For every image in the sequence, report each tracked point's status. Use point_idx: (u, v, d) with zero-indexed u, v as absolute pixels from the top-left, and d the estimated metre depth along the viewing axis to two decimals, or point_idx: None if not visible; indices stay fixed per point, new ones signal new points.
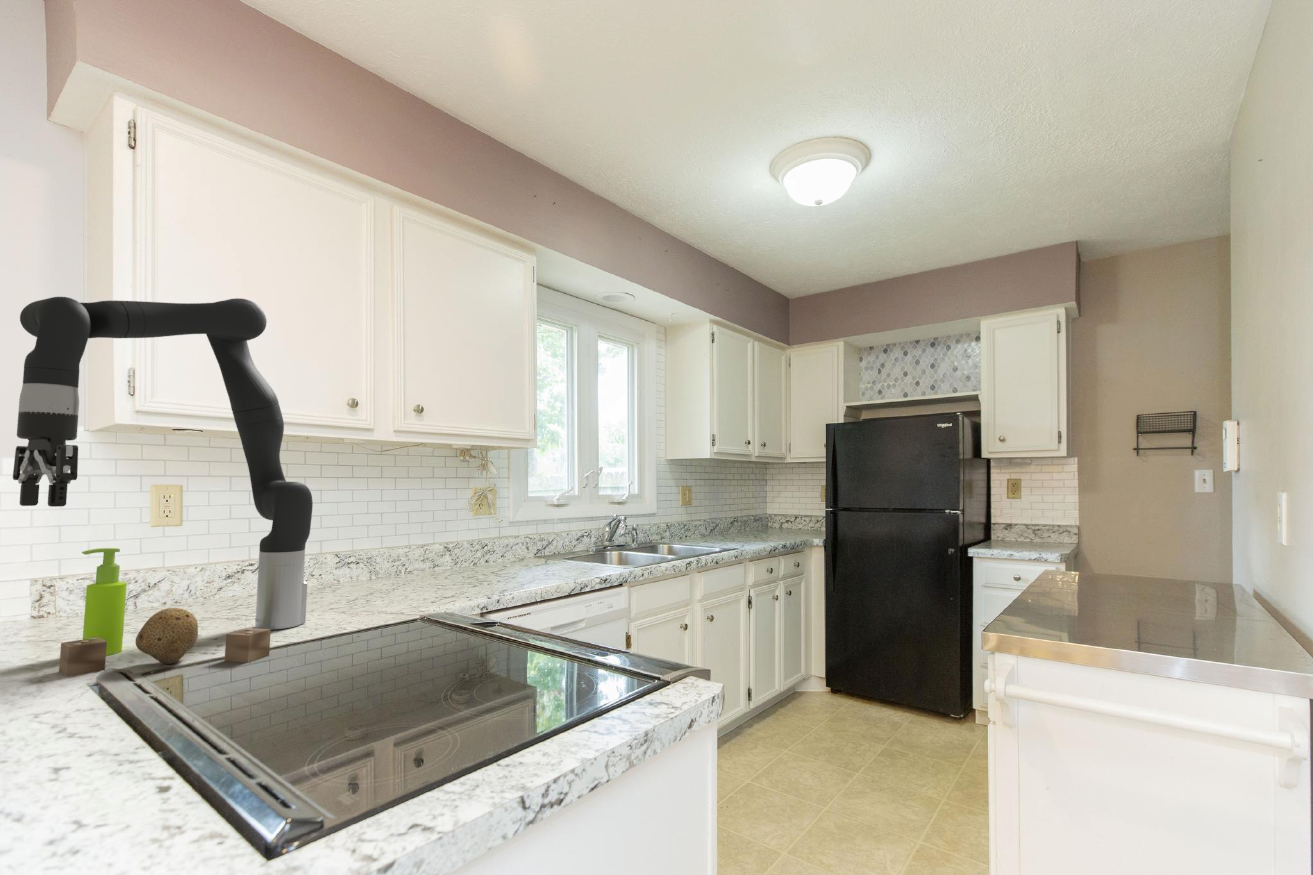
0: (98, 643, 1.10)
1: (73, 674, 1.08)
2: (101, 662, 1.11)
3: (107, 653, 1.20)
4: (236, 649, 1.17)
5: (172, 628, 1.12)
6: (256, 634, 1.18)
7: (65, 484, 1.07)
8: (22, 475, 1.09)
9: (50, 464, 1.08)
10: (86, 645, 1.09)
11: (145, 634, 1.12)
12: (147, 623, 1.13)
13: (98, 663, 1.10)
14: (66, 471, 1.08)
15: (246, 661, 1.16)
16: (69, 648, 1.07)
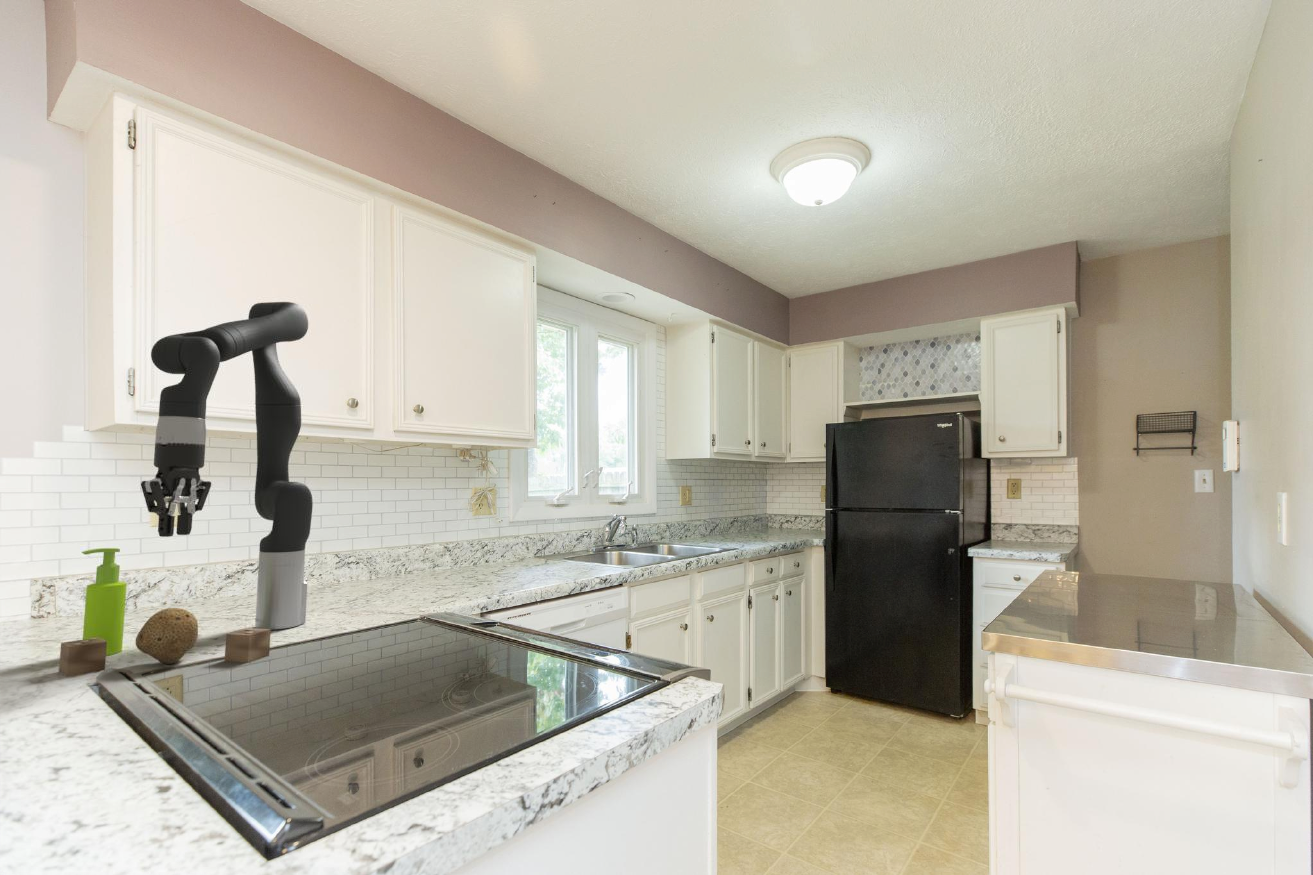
0: (98, 643, 1.10)
1: (73, 674, 1.08)
2: (101, 662, 1.11)
3: (107, 653, 1.20)
4: (236, 649, 1.17)
5: (172, 628, 1.12)
6: (256, 634, 1.18)
7: None
8: (173, 506, 1.15)
9: None
10: (86, 645, 1.09)
11: (145, 634, 1.12)
12: (147, 623, 1.13)
13: (98, 663, 1.10)
14: (183, 502, 1.20)
15: (246, 661, 1.16)
16: (69, 648, 1.07)
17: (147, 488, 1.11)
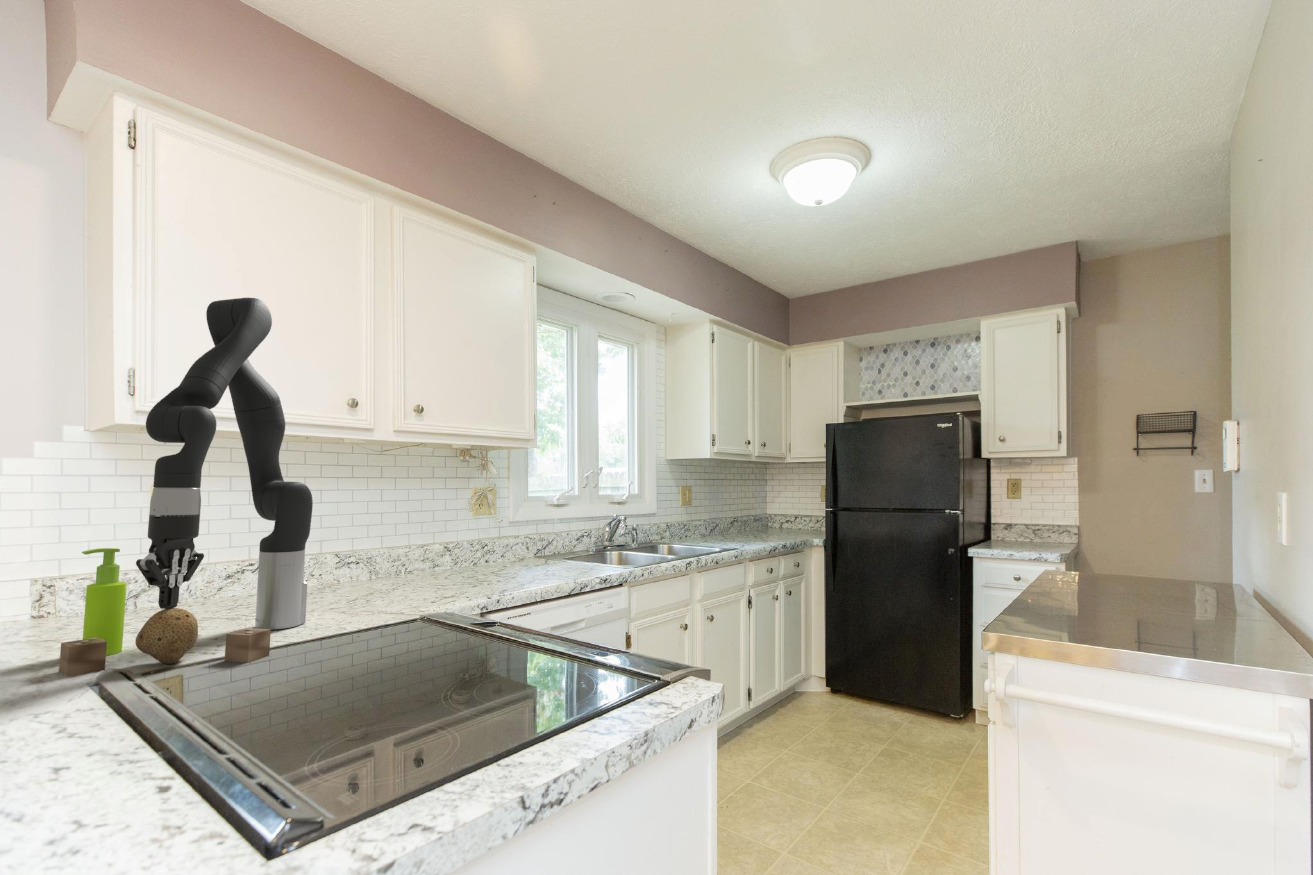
0: (98, 643, 1.10)
1: (73, 674, 1.08)
2: (101, 662, 1.11)
3: (107, 653, 1.20)
4: (236, 649, 1.17)
5: (172, 628, 1.12)
6: (256, 634, 1.18)
7: None
8: (172, 578, 1.15)
9: None
10: (86, 645, 1.09)
11: (145, 634, 1.12)
12: (147, 623, 1.13)
13: (98, 663, 1.10)
14: None
15: (246, 661, 1.16)
16: (69, 648, 1.07)
17: (143, 567, 1.11)
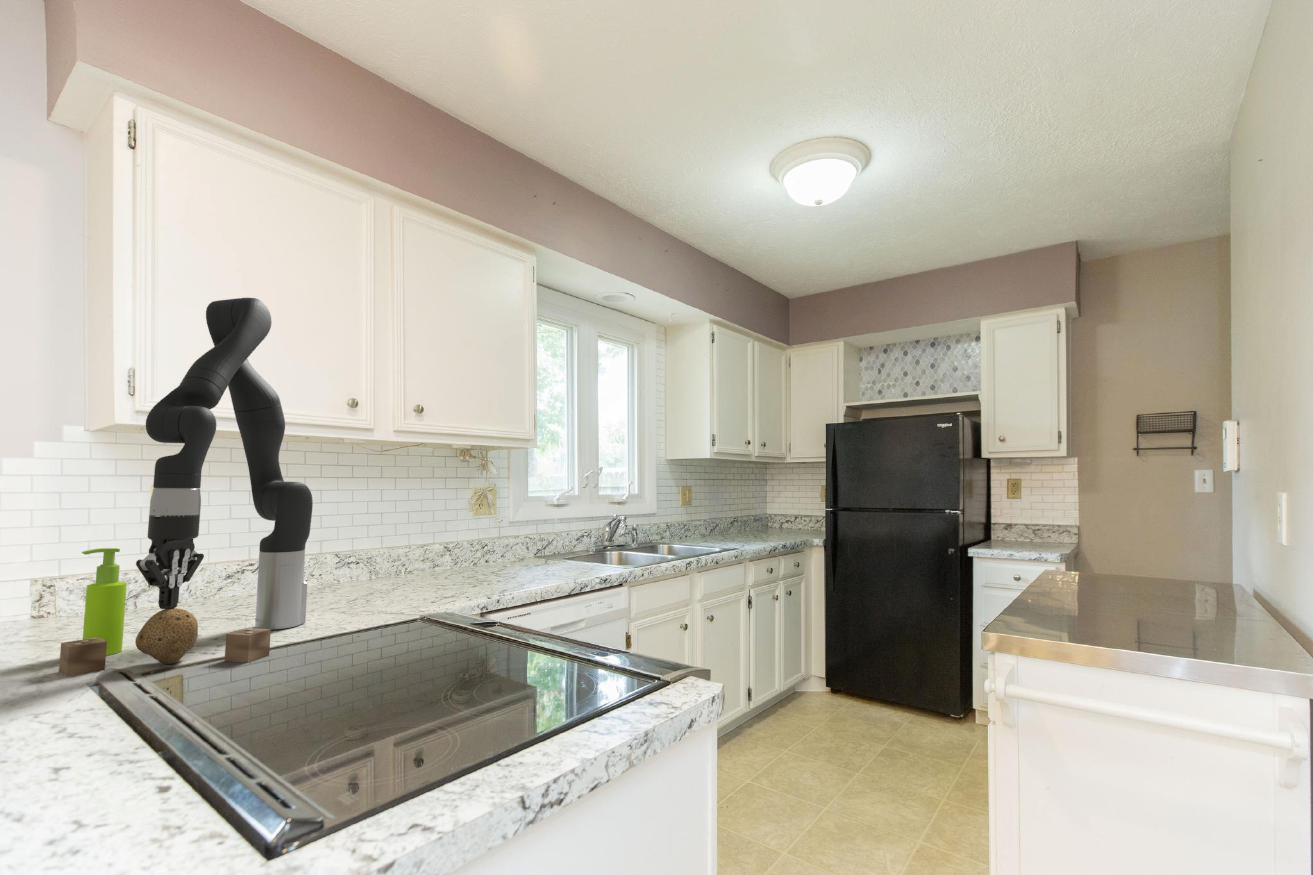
0: (98, 643, 1.10)
1: (73, 674, 1.08)
2: (101, 662, 1.11)
3: (107, 653, 1.20)
4: (236, 649, 1.17)
5: (172, 629, 1.12)
6: (256, 634, 1.18)
7: None
8: (172, 579, 1.15)
9: None
10: (86, 645, 1.09)
11: (145, 634, 1.12)
12: (147, 623, 1.13)
13: (98, 663, 1.10)
14: None
15: (246, 661, 1.16)
16: (69, 648, 1.07)
17: (143, 567, 1.11)
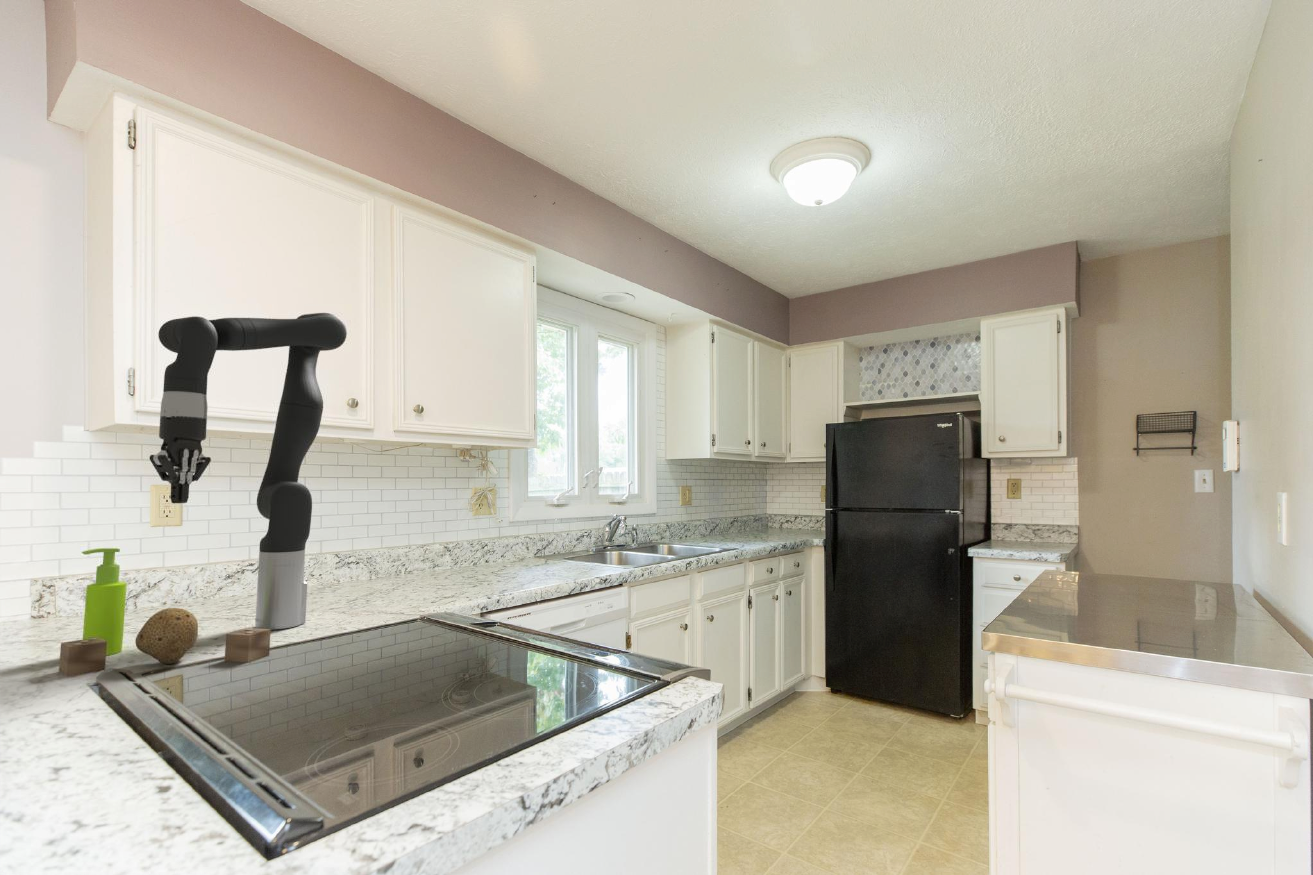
0: (98, 643, 1.10)
1: (73, 674, 1.08)
2: (101, 662, 1.11)
3: (107, 653, 1.20)
4: (236, 649, 1.17)
5: (172, 628, 1.12)
6: (256, 634, 1.18)
7: None
8: (182, 475, 1.25)
9: None
10: (86, 645, 1.09)
11: (145, 634, 1.12)
12: (147, 623, 1.13)
13: (99, 663, 1.10)
14: None
15: (246, 661, 1.16)
16: (69, 648, 1.07)
17: (156, 462, 1.21)
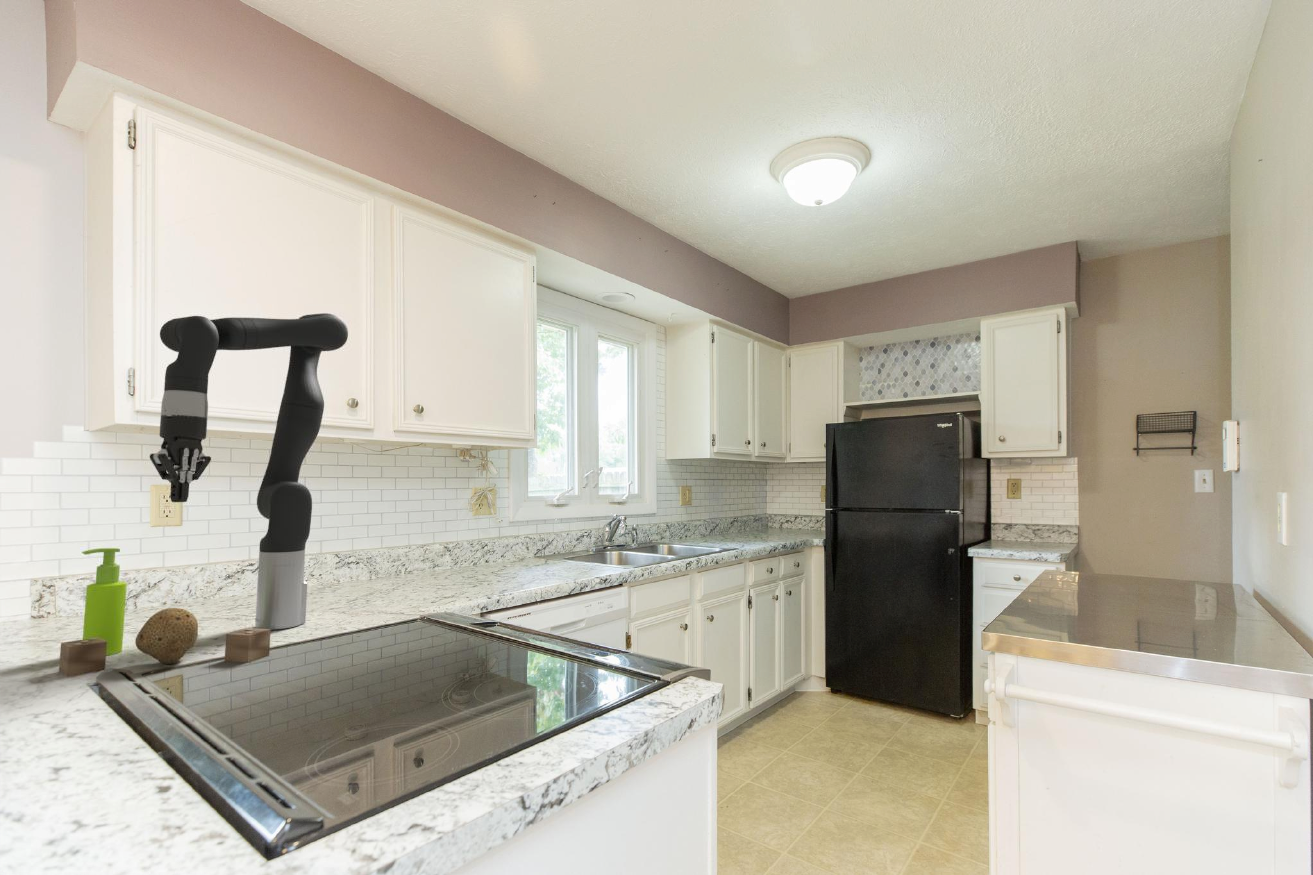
0: (98, 643, 1.10)
1: (73, 674, 1.08)
2: (101, 662, 1.11)
3: (107, 653, 1.20)
4: (236, 649, 1.17)
5: (172, 628, 1.12)
6: (256, 634, 1.18)
7: None
8: (182, 474, 1.25)
9: None
10: (86, 645, 1.09)
11: (145, 634, 1.12)
12: (147, 623, 1.13)
13: (99, 663, 1.10)
14: None
15: (246, 661, 1.16)
16: (69, 648, 1.07)
17: (156, 460, 1.21)
